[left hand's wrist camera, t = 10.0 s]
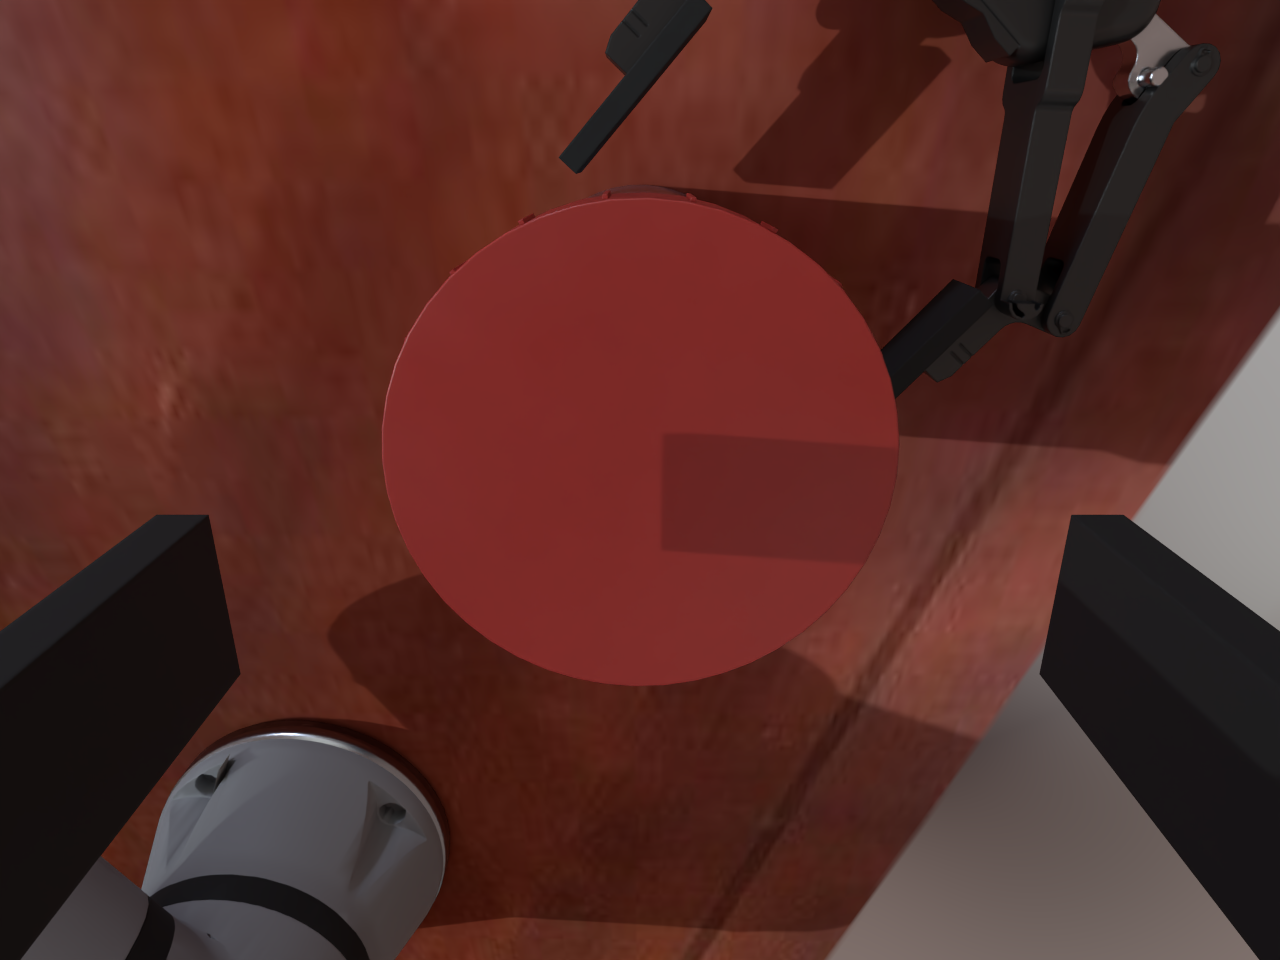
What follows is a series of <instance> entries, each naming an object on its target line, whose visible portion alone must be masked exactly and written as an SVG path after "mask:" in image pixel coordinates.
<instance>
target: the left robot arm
mask: <svg viewBox="0 0 1280 960" xmlns="http://www.w3.org/2000/svg"><path fill="white" fill-rule="evenodd" d="M239 675H240V669H239V664H238V659H237V654H236V649H235V644H234V639H233V634H232V629H231V624H230V619H229V614H228V609H227V604H226V599H225V594H224V590H223V585H222V580H221V575H220V570H219V565H218V560H217V555H216V550H215V545H214V540H213V535H212V530H211V525H210V520H209V515H156V516H154V517H153V518H152V519H150V520H149V521H148V522H146V523H145V524H144V525H142V526H141V527H140V528H138V529H137V530H136V531H134V532H133V533H132V534H130V535H129V536H128V537H126V538H125V539H124V540H122V541H121V542H119V543H118V544H117V545H115V546H114V547H113V548H111V549H110V550H109V551H107V552H106V553H105V554H103V555H102V556H101V557H99V558H98V559H97V560H95V561H94V562H93V563H91V564H90V565H89V566H87V567H86V568H85V569H83V570H82V571H81V572H79V573H78V574H77V575H75V576H74V577H73V578H71V579H70V580H69V581H67V582H66V583H64V584H63V585H62V586H60V587H59V588H58V589H56V590H55V591H54V592H52V593H51V594H50V595H48V596H47V597H46V598H44V599H43V600H42V601H40V602H39V603H38V604H36V605H35V606H34V607H32V608H31V609H30V610H28V611H27V612H26V613H24V614H23V615H22V616H20V617H19V618H18V619H16V620H15V621H13V622H12V623H11V624H9V625H8V626H7V627H5V628H4V629H3V630H1V631H0V960H395V958H396V957H397V956H398V954H399V953H400V951H401V950H402V949H403V947H404V946H405V945H406V943H407V942H408V940H409V939H410V938H411V936H412V935H413V933H414V932H415V931H416V929H417V928H418V927H419V925H420V924H421V922H422V921H423V920H424V918H425V917H426V915H427V914H428V912H429V910H430V908H431V906H432V904H433V903H434V901H435V899H436V897H437V895H438V893H439V890H440V887H441V884H442V881H443V877H444V873H445V870H446V866H447V862H448V857H449V851H450V832H449V826H448V821H447V818H446V815H445V811H444V809H443V807H442V804H441V802H440V800H439V798H438V797H437V795H436V793H435V791H434V790H433V788H432V787H431V786H430V784H429V783H428V781H427V780H426V779H425V778H424V777H423V776H422V774H421V773H420V772H419V771H418V770H417V769H416V768H415V767H414V766H413V765H412V764H411V763H409V762H408V761H407V760H406V759H405V758H403V757H402V756H401V755H400V754H398V753H397V752H395V751H394V750H392V749H391V748H389V747H388V746H386V745H384V744H382V743H380V742H379V741H377V740H375V739H373V738H370V737H368V736H366V735H364V734H361V733H359V732H356V731H353V730H350V729H347V728H344V727H340V726H336V725H332V724H327V723H322V722H313V721H300V720H287V721H274V722H266V723H261V724H256V725H252V726H249V727H246V728H242V729H239V730H237V731H235V732H232V733H230V734H228V735H226V736H224V737H222V738H221V739H219V740H217V741H216V742H214V743H213V744H211V745H210V746H209V747H207V748H206V749H205V750H204V751H203V752H202V753H200V754H199V755H198V756H197V758H196V759H195V760H194V761H193V762H192V763H191V765H190V766H189V767H188V769H187V770H186V771H185V773H184V774H183V776H182V777H181V778H180V780H179V781H178V782H177V784H176V785H175V787H174V788H173V790H172V792H171V794H170V796H169V798H168V800H167V802H166V805H165V807H164V809H163V811H162V814H161V817H160V820H159V823H158V827H157V831H156V835H155V839H154V843H153V847H152V851H151V854H150V858H149V862H148V866H147V870H146V874H145V878H144V881H143V885H142V889H140V888H139V887H137V886H136V885H135V884H134V883H132V882H131V881H130V880H129V879H128V878H126V877H125V876H124V875H123V874H122V873H120V872H119V871H118V870H117V869H115V868H114V867H113V866H112V865H111V864H109V863H108V862H107V861H106V860H105V859H103V858H102V857H101V855H102V853H103V852H104V851H105V849H106V848H107V847H108V846H109V844H110V843H111V842H112V840H113V839H114V838H115V836H116V835H117V834H118V833H119V831H120V830H121V829H122V827H123V826H124V825H125V823H126V822H127V821H128V820H129V818H130V817H131V816H132V814H133V813H134V812H135V810H136V809H137V808H138V807H139V805H140V804H141V803H142V801H143V800H144V799H145V797H146V796H147V795H148V794H149V792H150V791H151V790H152V788H153V787H154V786H155V784H156V783H157V782H158V781H159V779H160V778H161V777H162V775H163V774H164V773H165V771H166V770H167V769H168V768H169V766H170V765H171V764H172V762H173V761H174V760H175V758H176V757H177V756H178V755H179V753H180V752H181V751H182V749H183V748H184V747H185V745H186V744H187V743H188V742H189V740H190V739H191V738H192V736H193V735H194V734H195V732H196V731H197V730H198V729H199V727H200V726H201V725H202V723H203V722H204V721H205V719H206V718H207V717H208V716H209V714H210V713H211V712H212V710H213V709H214V708H215V706H216V705H217V704H218V703H219V701H220V700H221V699H222V697H223V696H224V695H225V693H226V692H227V691H228V690H229V688H230V687H231V686H232V684H233V683H234V682H235V680H236V679H237V678H238V677H239ZM1040 675H1041V677H1042V678H1043V679H1044V680H1045V682H1046V683H1047V684H1048V686H1049V687H1050V688H1051V689H1052V691H1053V692H1054V693H1055V695H1056V696H1057V697H1058V699H1059V700H1060V701H1061V702H1062V704H1063V705H1064V706H1065V708H1066V709H1067V710H1068V712H1069V713H1070V714H1071V716H1072V717H1073V718H1074V719H1075V721H1076V722H1077V723H1078V725H1079V726H1080V727H1081V729H1082V730H1083V731H1084V732H1085V734H1086V735H1087V736H1088V738H1089V739H1090V740H1091V742H1092V743H1093V744H1094V745H1095V747H1096V748H1097V749H1098V751H1099V752H1100V753H1101V754H1102V756H1103V757H1104V758H1105V760H1106V761H1107V762H1108V764H1109V765H1110V766H1111V767H1112V769H1113V770H1114V771H1115V773H1116V774H1117V775H1118V777H1119V778H1120V779H1121V781H1122V782H1123V783H1124V784H1125V786H1126V787H1127V788H1128V790H1129V791H1130V792H1131V794H1132V795H1133V796H1134V797H1135V799H1136V800H1137V801H1138V803H1139V804H1140V805H1141V807H1142V808H1143V809H1144V810H1145V812H1146V813H1147V814H1148V816H1149V817H1150V818H1151V819H1152V821H1153V822H1154V823H1155V825H1156V826H1157V827H1158V829H1159V830H1160V831H1161V833H1162V834H1163V835H1164V836H1165V838H1166V839H1167V840H1168V842H1169V843H1170V844H1171V846H1172V847H1173V848H1174V849H1175V851H1176V852H1177V853H1178V855H1179V856H1180V857H1181V859H1182V860H1183V861H1184V862H1185V864H1186V865H1187V866H1188V868H1189V869H1190V870H1191V872H1192V873H1193V874H1194V875H1195V877H1196V878H1197V879H1198V881H1199V882H1200V883H1201V884H1202V886H1203V887H1204V888H1205V890H1206V891H1207V892H1208V894H1209V895H1210V896H1211V897H1212V899H1213V900H1214V901H1215V903H1216V904H1217V905H1218V907H1219V908H1220V909H1221V910H1222V912H1223V913H1224V914H1225V916H1226V917H1227V918H1228V920H1229V921H1230V922H1231V924H1232V925H1233V926H1234V927H1235V929H1236V930H1237V931H1238V933H1239V934H1240V935H1241V937H1242V938H1243V939H1244V940H1245V942H1246V943H1247V944H1248V946H1249V947H1250V948H1251V950H1252V951H1253V952H1254V953H1255V955H1256V956H1257V957H1258V959H1259V960H1280V631H1279V630H1277V629H1276V628H1275V627H1273V626H1272V625H1271V624H1269V623H1268V622H1267V621H1265V620H1264V619H1262V618H1261V617H1260V616H1258V615H1257V614H1256V613H1254V612H1253V611H1252V610H1250V609H1249V608H1248V607H1246V606H1245V605H1244V604H1242V603H1241V602H1240V601H1238V600H1237V599H1236V598H1234V597H1233V596H1232V595H1230V594H1229V593H1228V592H1226V591H1225V590H1223V589H1222V588H1221V587H1220V586H1218V585H1217V584H1215V583H1214V582H1213V581H1211V580H1210V579H1209V578H1207V577H1206V576H1205V575H1203V574H1202V573H1201V572H1199V571H1198V570H1197V569H1195V568H1194V567H1193V566H1191V565H1190V564H1189V563H1187V562H1186V561H1185V560H1183V559H1182V558H1181V557H1179V556H1178V555H1177V554H1175V553H1174V552H1172V551H1171V550H1170V549H1169V548H1167V547H1166V546H1165V545H1163V544H1162V543H1160V542H1159V541H1158V540H1156V539H1155V538H1154V537H1152V536H1151V535H1150V534H1148V533H1147V532H1146V531H1144V530H1143V529H1142V528H1140V527H1139V526H1138V525H1136V524H1135V523H1134V522H1132V521H1131V520H1130V519H1128V518H1127V517H1126V516H1124V515H1071V520H1070V525H1069V530H1068V535H1067V540H1066V545H1065V550H1064V555H1063V560H1062V565H1061V570H1060V575H1059V580H1058V585H1057V590H1056V594H1055V599H1054V604H1053V609H1052V614H1051V619H1050V624H1049V629H1048V634H1047V639H1046V644H1045V649H1044V654H1043V659H1042V664H1041V669H1040Z"/></svg>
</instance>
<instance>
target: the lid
mask: <svg viewBox="0 0 1280 960" xmlns="http://www.w3.org/2000/svg"><path fill="white" fill-rule="evenodd" d="M518 223H519V225H518V226H517V227H515V228H513V229H512V230H510V231H508V232H506V233H505V234H503V235H502V236H500V237H499V238H497V239H496V240H494V241H493V242H491V243H490V244H489V245H487V246H486V247H484V248H483V249H481V250H480V251H478V252H477V253H475V254H474V255H473V256H472V257H471V258H470V259H469V260H467V261H465V262H464V263H462V264H461V265H459V266H457V267H456V268H454V269H452V270H451V272H450V274H451V276H450V277H449V278H448V279H447V280H446V281H445V282H444V284H443V285H442V286H441V287H440V288H439V290H438V291H437V292H436V293H435V294H434V296H433V297H432V298H431V299H430V300H429V302H428V303H427V304H426V306H425V307H424V309H423V310H422V312H421V314H420V315H419V317H418V318H417V320H416V322H415V323H414V325H413V327H412V328H411V330H410V331H409V333H408V335H407V336H406V337H405V340H404V341H405V342H404V344H403V347H402V349H401V351H400V354H399V356H398V358H397V360H396V363H395V365H394V369H393V373H392V376H391V380H390V384H389V387H388V391H387V394H386V400H385V408H384V416H383V424H382V462H383V469H384V475H385V482H386V488H387V494H388V497H389V500H390V504H391V507H392V510H393V514H394V517H395V521H396V523H397V526H398V528H399V530H400V532H401V535H402V537H403V539H404V541H405V544H406V546H407V548H408V550H409V552H410V554H411V555H412V557H413V559H414V560H415V562H416V564H417V565H418V567H419V568H420V570H421V572H422V573H423V575H424V577H425V578H426V579H427V580H428V582H429V583H430V584H431V585H432V587H433V588H434V589H435V590H436V592H437V593H438V594H439V595H440V597H441V598H442V599H443V600H444V602H445V603H446V604H448V605H449V606H450V607H451V608H452V609H453V610H454V611H455V612H456V613H457V614H458V615H459V616H460V617H461V618H462V619H463V620H464V621H465V622H466V623H467V624H469V625H470V626H471V627H473V628H474V629H475V630H477V631H478V632H479V633H480V634H482V635H483V636H484V637H486V638H487V639H488V640H490V641H491V642H493V643H495V644H496V645H498V646H500V647H501V648H503V649H505V650H506V651H508V652H510V653H511V654H513V655H515V656H517V657H519V658H521V659H523V660H526V661H528V662H530V663H532V664H535V665H537V666H539V667H541V668H544V669H547V670H550V671H553V672H556V673H559V674H562V675H566V676H569V677H572V678H576V679H582V680H587V681H592V682H597V683H602V684H613V685H625V686H656V685H669V684H676V683H683V682H690V681H696V680H700V679H703V678H707V677H711V676H715V675H719V674H723V673H726V672H728V671H731V670H733V669H736V668H739V667H741V666H744V665H747V664H749V663H752V662H754V661H756V660H757V659H759V658H761V657H763V656H765V655H767V654H769V653H771V652H773V651H775V650H777V649H779V648H780V647H782V646H783V645H785V644H786V643H787V642H789V641H790V640H792V639H793V638H795V637H796V636H798V635H799V634H801V633H802V632H804V631H805V630H806V629H807V628H808V627H809V626H811V625H812V624H813V623H814V622H815V621H816V620H818V619H819V618H820V617H821V616H822V615H823V614H825V613H826V612H827V611H828V610H829V608H830V607H831V606H832V605H833V604H834V603H835V602H836V601H837V600H838V599H839V597H840V596H841V595H842V594H843V593H844V592H845V591H846V590H847V588H848V587H849V586H850V584H851V583H852V581H853V580H854V578H855V577H856V576H857V574H858V573H859V571H860V570H861V568H862V567H863V566H864V564H865V562H866V560H867V559H868V557H869V555H870V553H871V551H872V549H873V547H874V545H875V543H876V541H877V540H878V538H879V535H880V533H881V530H882V527H883V525H884V522H885V519H886V516H887V514H888V511H889V508H890V505H891V500H892V496H893V491H894V487H895V482H896V477H897V468H898V455H899V429H898V412H897V407H896V402H895V397H894V392H893V387H892V382H891V378H890V376H889V373H888V370H887V367H886V364H885V361H884V359H883V354H882V352H881V350H880V348H879V346H878V344H877V342H876V340H875V338H874V336H873V334H872V332H871V331H870V329H869V327H868V325H867V323H866V321H865V319H864V317H863V316H862V315H861V313H860V312H859V311H858V309H857V308H856V306H855V305H854V304H853V302H852V301H851V300H850V298H849V297H848V295H847V294H846V293H845V291H844V290H843V289H842V288H841V287H842V286H843V285H842V284H841V283H840V282H839V281H838V280H836V279H834V278H833V277H831V276H830V275H829V274H828V273H827V272H826V271H825V270H824V269H823V268H822V267H821V266H820V265H819V264H818V263H816V262H815V261H814V260H813V259H811V258H810V257H809V256H807V255H806V254H805V253H803V252H802V251H801V250H800V249H798V248H797V247H796V246H794V245H793V244H792V243H791V242H789V241H787V240H786V239H784V238H782V237H780V236H779V235H777V232H778V229H776V228H774V227H773V226H771V225H769V224H767V223H765V222H763V221H761V223H760V224H758V223H756V222H754V221H753V220H751V219H749V218H747V217H746V216H744V215H741V214H739V213H736V212H734V211H731V210H729V209H726V208H724V207H721V206H719V205H716V204H714V203H710V202H705V201H701V200H697V198H696V197H695V196H694V195H692V194H690V193H687V194H686V197H685V196H680V195H671V194H661V193H651V192H641V193H615V194H611V191H610V190H608V191H605V192H604V193H603V194H602V196H598V197H592V198H586V199H582V200H578V201H575V202H572V203H569V204H566V205H563V206H560V207H557V208H554V209H551V210H549V211H547V212H545V213H543V214H540V215H538V216H536V217H535V216H534V214H533V213H532V214H530V215H528V216H527V217H525V218H523V219H521V220H519V221H518Z"/></svg>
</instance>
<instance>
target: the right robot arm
mask: <svg viewBox="0 0 1280 960" xmlns="http://www.w3.org/2000/svg"><path fill="white" fill-rule="evenodd" d="M1160 1H1161V0H933V2H934V3H935V4H936V5H937V6H938V7H939V9H940V10H941V11H943V12H944V13H946V14H948V15H949V16H951V17H953V18H954V19H956V20H957V21H959V22H960V23H961V24H962V26H963V28H964V30H965V32H966V34H967V37H968V39H969V41H970V43H971V46H972V47H973V48H974V49H975V50H976V51H977V53H978V54H979V55H980V56H981V57H982V58H983V59H984V61H985V62H989V61H994V62H996V63H998V64H1001V65H1004V66H1008V67H1007V73H1006V79H1005V85H1004V91H1003V98H1002V101H1003V106H1004V109H1005V117H1004V123H1003V129H1002V135H1001V141H1000V147H999V152H998V158H997V164H996V170H995V176H994V181H993V187H992V193H991V199H990V205H989V211H988V216H987V222H986V228H985V234H984V240H983V245H982V251H981V257H980V263H979V269H978V274H977V280H976V286H975V288H974V287H971V286H969V285H966V284H964V283H961V282H959V281H956V280H954V279H953V280H952V281H951V282H950V283H949V284H948V285H947V286H946V287H945V288H944V289H943V290H941V291H940V292H939V293H938V294H937V295H936V296H935V297H934V298H933V299H932V300H931V301H930V302H929V303H928V304H927V305H926V306H925V307H924V308H923V309H922V310H921V311H920V312H919V313H918V314H917V315H916V316H915V317H914V318H913V319H912V320H911V321H910V322H909V323H908V324H907V325H906V326H905V327H904V328H903V329H902V330H901V331H900V332H899V333H898V334H897V335H896V336H895V337H894V338H893V339H892V340H891V341H890V342H889V343H888V344H887V345H886V346H885V347H884V348H883V349H881V352H882V354H883V359H884V361H885V364H886V367H887V370H888V373H889V376H890V378H891V382H892V387H893V392H894V397H895V399H896V398H897V397H898V396H899V395H900V394H901V393H902V392H903V391H904V390H905V389H906V388H907V387H908V386H909V385H910V384H911V383H912V382H913V381H914V380H915V379H917V378H918V377H919V376H920V375H921V374H922V373H923V372H924V373H925V374H927V375H928V376H929V377H931V378H932V379H933V380H935V381H936V382H939V381H941V380H944V379H946V378H948V377H950V376H952V375H953V374H954V373H955V372H956V371H957V370H958V369H959V368H960V367H961V366H962V365H963V364H964V363H966V362H967V361H968V360H969V359H970V358H971V356H973V355H974V354H975V353H976V352H977V351H978V350H979V349H980V348H981V347H982V346H984V345H985V344H986V343H987V342H988V341H989V340H990V339H991V338H992V337H993V336H994V335H995V334H996V333H997V332H998V331H999V330H1000V329H1002V328H1003V327H1004V326H1006V325H1008V324H1010V323H1015V322H1022V323H1025V324H1028V325H1030V326H1033V327H1035V328H1037V329H1039V330H1042V331H1044V332H1046V333H1049V334H1051V335H1054V336H1056V337H1066V336H1069V335H1071V334H1072V333H1073V332H1075V331H1076V329H1077V328H1078V326H1079V325H1080V323H1081V321H1082V319H1083V316H1084V314H1085V312H1086V310H1087V308H1088V306H1089V304H1090V301H1091V299H1092V297H1093V295H1094V293H1095V291H1096V289H1097V286H1098V284H1099V282H1100V280H1101V278H1102V276H1103V274H1104V271H1105V269H1106V267H1107V265H1108V263H1109V261H1110V259H1111V256H1112V254H1113V252H1114V250H1115V248H1116V246H1117V244H1118V241H1119V239H1120V237H1121V235H1122V233H1123V231H1124V229H1125V226H1126V224H1127V222H1128V220H1129V218H1130V216H1131V214H1132V211H1133V209H1134V207H1135V205H1136V203H1137V201H1138V198H1139V196H1140V194H1141V192H1142V190H1143V188H1144V186H1145V183H1146V181H1147V179H1148V177H1149V175H1150V173H1151V171H1152V168H1153V166H1154V164H1155V162H1156V160H1157V158H1158V156H1159V153H1160V151H1161V149H1162V147H1163V145H1164V143H1165V141H1166V138H1167V136H1168V134H1169V132H1170V130H1171V128H1172V126H1173V123H1174V122H1175V121H1176V120H1177V118H1178V117H1179V116H1180V115H1181V114H1182V113H1183V111H1184V110H1185V109H1186V108H1187V107H1188V106H1189V105H1190V103H1191V102H1192V101H1193V100H1194V99H1195V98H1196V97H1197V95H1198V94H1199V93H1200V92H1201V91H1202V90H1203V88H1204V87H1205V86H1206V85H1207V84H1208V83H1209V82H1210V80H1211V79H1212V78H1213V77H1214V76H1215V74H1216V72H1217V71H1218V69H1219V66H1220V62H1221V59H1220V53H1219V51H1218V49H1217V48H1216V47H1215V46H1213V45H1211V44H1204V43H1203V44H1197V45H1192V46H1190V45H1188V44H1187V43H1186V42H1185V41H1184V40H1183V39H1182V38H1180V37H1179V36H1178V35H1177V34H1176V33H1175V32H1174V31H1173V30H1172V29H1171V28H1170V27H1169V26H1168V25H1167V24H1166V23H1165V22H1164V21H1163V20H1162V19H1161V18H1160V17H1159V16H1158V15H1157V14H1156V12H1157V9H1158V7H1159V4H1160ZM711 10H712V7H711V6H710V5H709V4H708V3H707V2H706V1H705V0H638V2H637V3H636V4H635V5H634V7H633V8H632V9H631V10H630V12H629V13H628V14H627V15H626V17H625V18H624V19H623V21H622V22H621V23H620V24H619V25H618V27H617V28H616V29H615V31H614V32H613V33H612V34H611V36H610V39H609V42H608V46H607V49H606V52H605V54H606V57H607V58H608V59H609V60H610V61H611V62H612V63H613V64H614V65H615V66H616V67H617V68H618V69H619V70H620V71H621V72H622V73H623V74H624V75H625V76H624V78H623V79H622V80H621V81H620V82H619V84H618V85H617V86H616V87H615V89H614V90H613V91H612V92H611V94H610V95H609V96H608V97H607V99H606V100H605V101H604V102H603V103H602V105H601V106H600V107H599V108H598V110H597V111H596V112H595V113H594V115H593V116H592V117H591V118H590V120H589V121H588V122H587V123H586V124H585V126H584V127H583V128H582V129H581V131H580V132H579V133H578V134H577V136H576V137H575V138H574V139H573V140H572V142H571V143H570V144H569V145H568V147H567V148H566V149H565V150H564V152H563V153H562V154H561V155H560V157H559V158H560V159H561V160H562V161H563V162H564V163H565V164H566V165H567V166H568V167H569V168H570V169H571V170H573V171H574V172H575V173H576V174H577V173H580V172H582V171H583V170H584V168H585V167H586V166H587V165H588V164H589V162H590V161H591V160H592V159H593V157H594V156H595V155H596V154H597V153H598V151H599V150H600V149H601V148H602V147H603V145H604V144H605V143H606V142H607V140H608V139H609V138H610V137H611V136H612V134H613V133H614V132H615V131H616V130H617V128H618V127H619V126H620V125H621V123H622V122H623V121H624V120H625V119H626V117H627V116H628V115H629V114H630V113H631V111H632V110H633V109H634V108H635V107H636V105H637V104H638V103H639V102H640V100H641V99H642V98H643V97H644V96H645V94H646V93H647V92H648V91H649V90H650V88H651V87H652V86H653V85H654V83H655V82H656V81H657V80H658V79H659V77H660V76H661V75H662V74H663V73H664V71H665V70H666V69H667V68H668V66H669V65H670V64H671V63H672V62H673V60H674V59H675V58H676V57H677V56H678V54H679V53H680V52H681V51H682V49H683V48H684V47H685V46H686V45H687V43H688V42H689V41H690V40H691V39H692V37H693V36H694V35H695V34H696V33H697V31H698V30H699V29H700V28H701V26H702V25H703V24H704V23H705V22H706V20H707V18H708V16H709V14H710V12H711ZM1116 44H1118V46H1119V47H1120V48H1121V51H1122V64H1121V67H1120V69H1119V71H1118V73H1117V75H1116V76H1115V78H1114V79H1113V82H1112V85H1113V88H1114V90H1115V91H1116V93H1117V96H1116V97H1115V99H1114V100H1113V101H1112V102H1111V104H1110V106H1109V107H1108V109H1107V110H1106V112H1105V114H1104V115H1103V117H1102V119H1101V121H1100V123H1099V125H1098V127H1097V129H1096V131H1095V134H1094V136H1093V138H1092V141H1091V143H1090V145H1089V147H1088V150H1087V152H1086V154H1085V157H1084V159H1083V161H1082V163H1081V166H1080V168H1079V170H1078V173H1077V175H1076V177H1075V179H1074V182H1073V184H1072V186H1071V189H1070V191H1069V193H1068V195H1067V198H1066V200H1065V202H1064V205H1063V207H1062V209H1061V211H1060V214H1059V216H1058V218H1057V221H1056V223H1055V225H1054V227H1053V230H1052V232H1051V234H1050V237H1049V239H1048V241H1047V244H1046V240H1047V235H1048V230H1049V225H1050V220H1051V215H1052V210H1053V204H1054V199H1055V194H1056V189H1057V184H1058V179H1059V174H1060V169H1061V164H1062V159H1063V154H1064V149H1065V144H1066V139H1067V134H1068V129H1069V124H1070V119H1071V114H1072V110H1073V108H1074V107H1075V105H1076V104H1077V103H1078V102H1079V100H1080V98H1081V96H1082V93H1083V90H1084V85H1085V80H1086V75H1087V70H1088V65H1089V60H1090V55H1091V51H1092V50H1094V49H1098V48H1103V47H1107V46H1111V45H1116ZM1045 245H1046V246H1045Z"/></svg>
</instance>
